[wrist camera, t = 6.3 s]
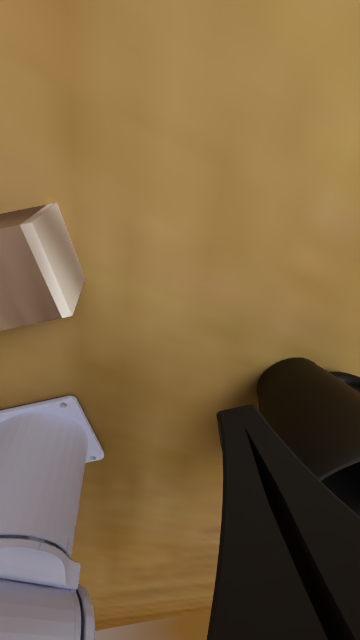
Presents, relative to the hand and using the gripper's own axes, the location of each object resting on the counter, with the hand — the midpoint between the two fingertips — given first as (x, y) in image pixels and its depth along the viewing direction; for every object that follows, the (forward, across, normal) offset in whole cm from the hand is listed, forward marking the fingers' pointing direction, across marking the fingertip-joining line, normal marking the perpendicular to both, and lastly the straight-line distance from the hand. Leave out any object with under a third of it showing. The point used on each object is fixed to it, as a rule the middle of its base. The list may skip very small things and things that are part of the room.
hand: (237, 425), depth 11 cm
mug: (+11, -9, +10) cm, 17 cm away
